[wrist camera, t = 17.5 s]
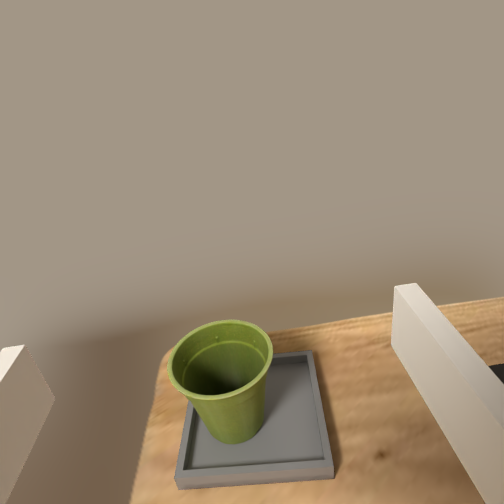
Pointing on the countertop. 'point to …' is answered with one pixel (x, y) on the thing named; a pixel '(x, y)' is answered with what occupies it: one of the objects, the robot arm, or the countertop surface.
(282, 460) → the tray
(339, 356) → the countertop surface
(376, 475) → the countertop surface
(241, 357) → the plant pot
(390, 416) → the countertop surface
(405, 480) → the countertop surface
